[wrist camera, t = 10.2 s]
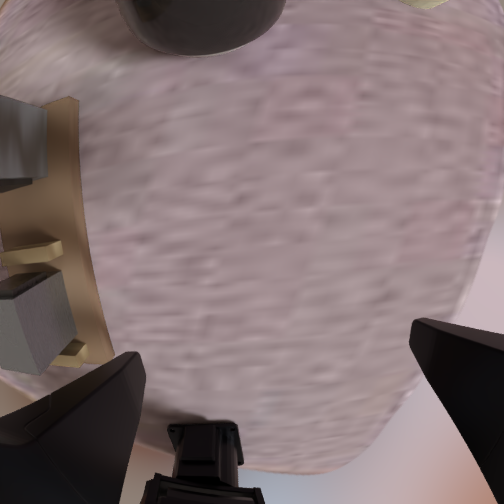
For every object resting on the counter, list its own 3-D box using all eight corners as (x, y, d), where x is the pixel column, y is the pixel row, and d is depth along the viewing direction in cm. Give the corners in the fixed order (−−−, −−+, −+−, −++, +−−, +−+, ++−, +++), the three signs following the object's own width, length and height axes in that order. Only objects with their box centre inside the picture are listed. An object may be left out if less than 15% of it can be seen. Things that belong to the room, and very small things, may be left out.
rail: (114, 354, 21) (79, 413, 14) (43, 351, 21) (1, 396, 14) (78, 100, 17) (20, 73, 10) (6, 128, 17) (-54, 120, 9)
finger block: (78, 333, 19) (40, 375, 13) (41, 332, 19) (1, 368, 13) (60, 265, 18) (11, 292, 12) (23, 268, 18) (-26, 293, 12)
